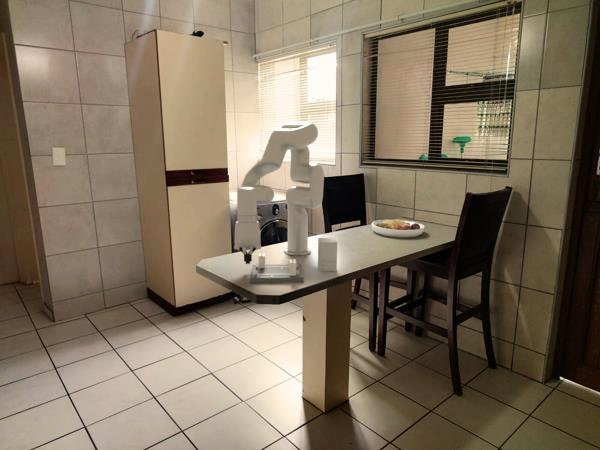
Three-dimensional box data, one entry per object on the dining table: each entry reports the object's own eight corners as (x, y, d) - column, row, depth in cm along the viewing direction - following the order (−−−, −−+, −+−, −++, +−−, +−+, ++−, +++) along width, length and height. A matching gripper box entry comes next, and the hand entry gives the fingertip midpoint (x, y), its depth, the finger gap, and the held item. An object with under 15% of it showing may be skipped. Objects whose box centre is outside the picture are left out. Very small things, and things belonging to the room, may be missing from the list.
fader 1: (259, 264, 165) (259, 252, 164) (265, 264, 165) (265, 252, 164) (258, 268, 160) (258, 255, 159) (264, 268, 160) (264, 255, 159)
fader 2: (289, 271, 157) (289, 258, 156) (295, 271, 157) (295, 258, 156) (289, 275, 152) (289, 262, 151) (296, 275, 152) (296, 262, 151)
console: (252, 269, 166) (252, 262, 166) (300, 269, 168) (300, 262, 167) (250, 283, 151) (250, 275, 150) (303, 282, 152) (303, 274, 151)
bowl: (360, 232, 237) (361, 218, 235) (390, 225, 256) (391, 213, 255) (404, 242, 215) (405, 227, 213) (433, 233, 235) (434, 220, 233)
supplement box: (334, 266, 172) (335, 237, 169) (336, 271, 165) (337, 242, 162) (317, 266, 172) (318, 237, 169) (318, 271, 164) (319, 241, 162)
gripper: (266, 216, 162) (266, 260, 166) (229, 216, 161) (230, 260, 165) (266, 220, 155) (266, 265, 159) (226, 220, 154) (228, 266, 158)
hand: (247, 262), depth 162 cm, fingers closed
